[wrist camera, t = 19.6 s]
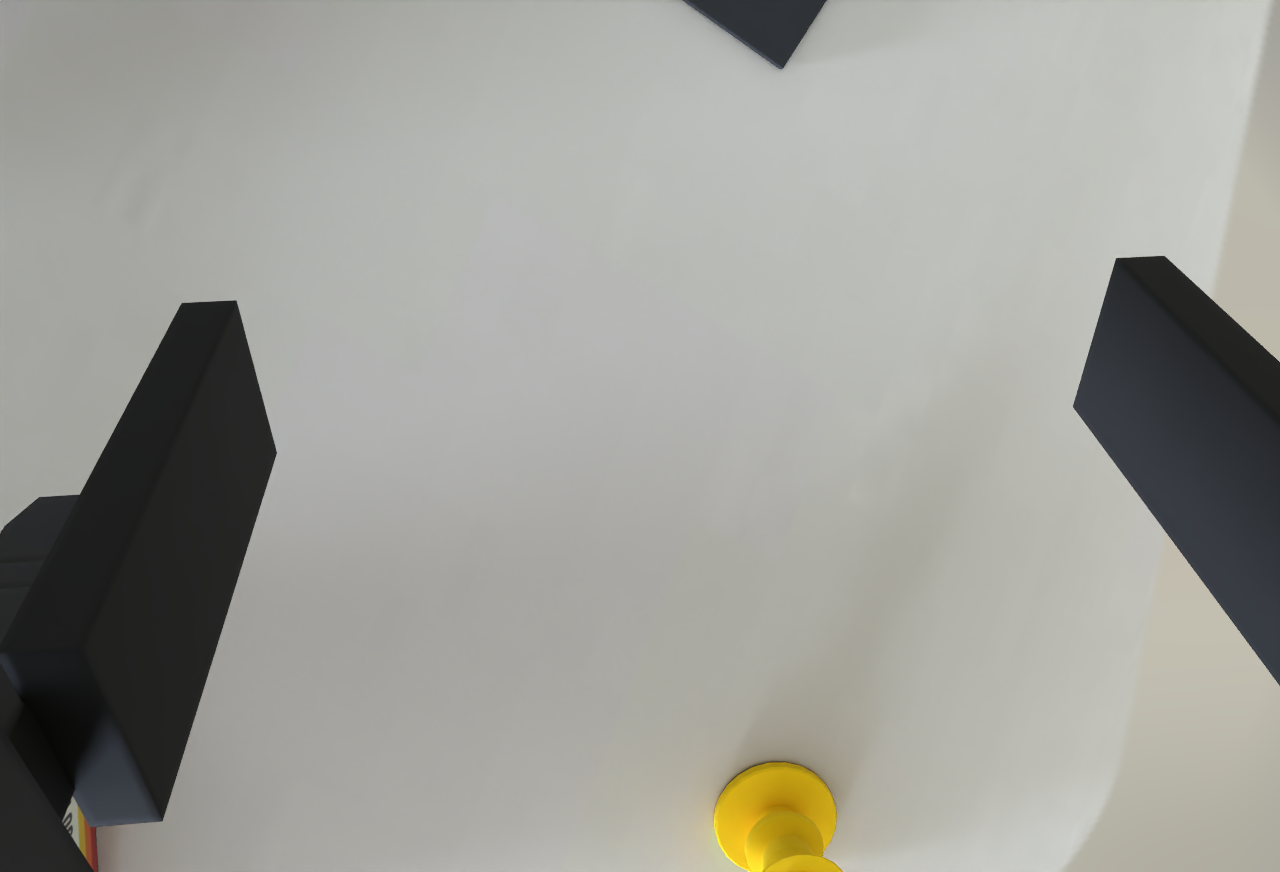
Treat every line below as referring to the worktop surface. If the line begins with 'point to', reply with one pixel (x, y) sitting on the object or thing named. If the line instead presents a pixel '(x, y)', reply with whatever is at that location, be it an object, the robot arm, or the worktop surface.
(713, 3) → the corner mat
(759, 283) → the worktop surface
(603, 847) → the worktop surface
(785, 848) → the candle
